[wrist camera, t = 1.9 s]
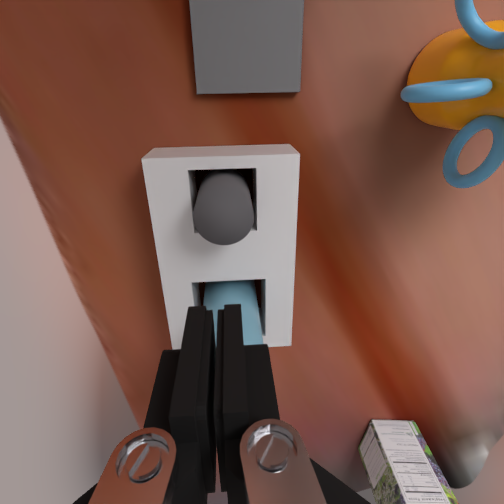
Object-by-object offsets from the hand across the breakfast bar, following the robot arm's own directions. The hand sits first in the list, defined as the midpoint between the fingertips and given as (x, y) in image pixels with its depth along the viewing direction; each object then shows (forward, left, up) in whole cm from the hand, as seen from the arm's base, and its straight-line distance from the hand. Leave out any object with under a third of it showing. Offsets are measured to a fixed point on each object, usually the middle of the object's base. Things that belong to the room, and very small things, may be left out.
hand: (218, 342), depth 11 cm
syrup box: (+32, +18, -17) cm, 40 cm away
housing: (+5, 0, -17) cm, 18 cm away
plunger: (0, 0, -16) cm, 16 cm away
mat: (-10, +2, -17) cm, 20 cm away
